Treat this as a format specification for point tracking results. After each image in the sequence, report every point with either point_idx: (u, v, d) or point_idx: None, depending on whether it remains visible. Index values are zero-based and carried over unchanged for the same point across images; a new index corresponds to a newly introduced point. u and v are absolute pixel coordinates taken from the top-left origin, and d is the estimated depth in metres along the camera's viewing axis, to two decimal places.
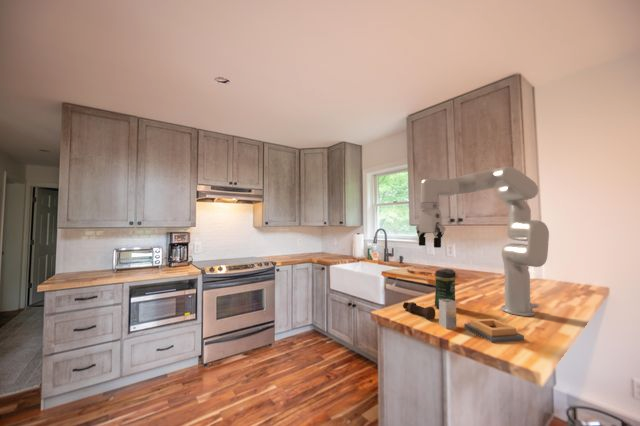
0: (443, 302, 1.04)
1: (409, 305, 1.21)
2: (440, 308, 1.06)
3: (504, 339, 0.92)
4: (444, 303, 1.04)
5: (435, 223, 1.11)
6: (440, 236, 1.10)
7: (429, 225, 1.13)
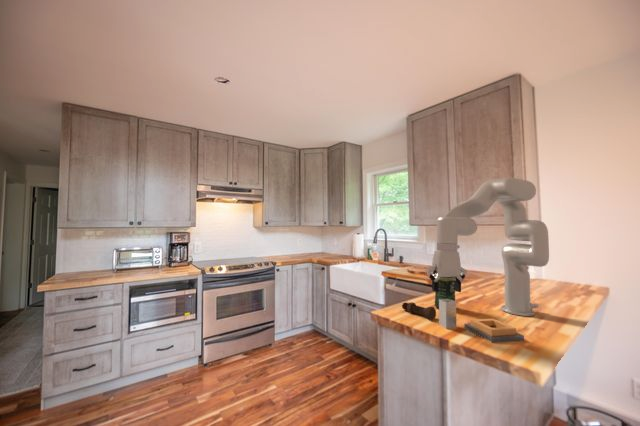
0: (443, 302, 1.04)
1: (409, 305, 1.20)
2: (440, 308, 1.06)
3: (504, 339, 0.92)
4: (444, 303, 1.04)
5: None
6: None
7: (456, 269, 1.04)
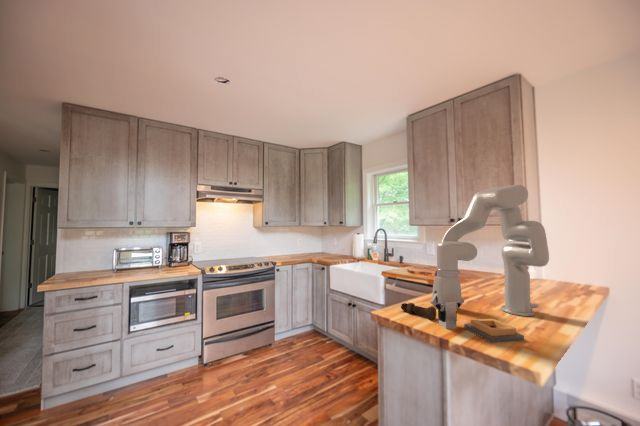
0: None
1: (409, 306, 1.19)
2: None
3: (504, 339, 0.92)
4: None
5: None
6: None
7: (457, 295, 1.04)
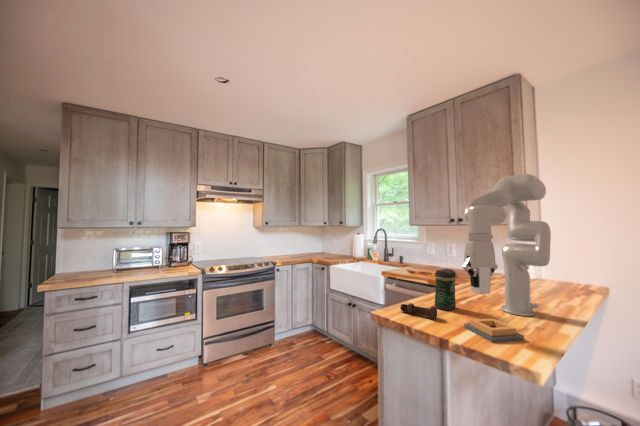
0: None
1: (409, 307, 1.18)
2: None
3: (504, 339, 0.92)
4: None
5: None
6: None
7: (491, 259, 0.99)
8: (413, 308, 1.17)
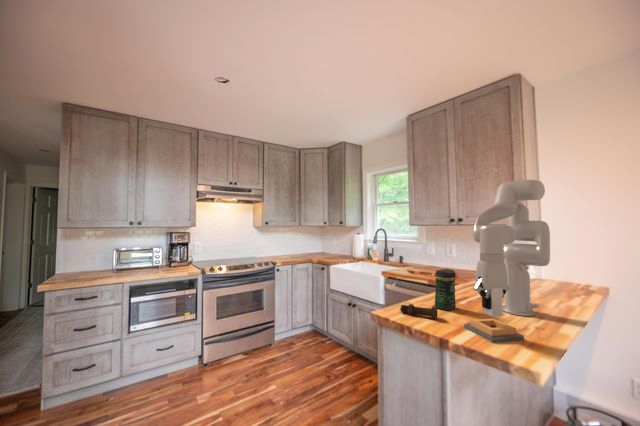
0: None
1: (410, 308, 1.17)
2: None
3: (504, 339, 0.92)
4: None
5: None
6: None
7: (503, 281, 0.97)
8: (414, 309, 1.17)
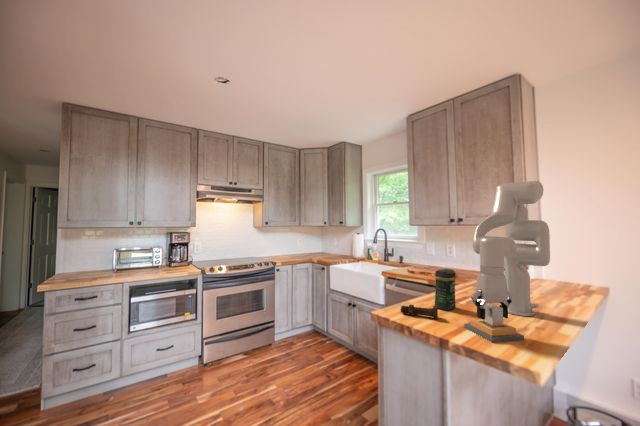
0: (488, 308, 0.98)
1: (411, 308, 1.16)
2: None
3: (504, 339, 0.92)
4: (490, 309, 0.97)
5: None
6: None
7: (503, 294, 0.97)
8: (414, 309, 1.16)
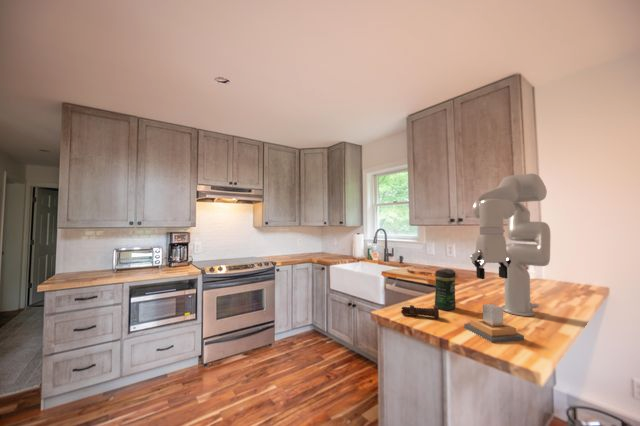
0: (488, 308, 0.98)
1: (412, 309, 1.15)
2: (484, 314, 0.99)
3: (504, 339, 0.92)
4: (490, 309, 0.97)
5: None
6: None
7: (503, 254, 0.98)
8: (416, 310, 1.15)
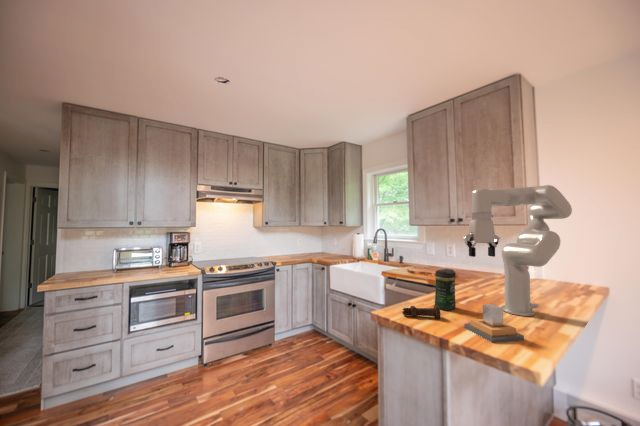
0: (488, 308, 0.98)
1: (414, 310, 1.14)
2: (484, 314, 0.99)
3: (504, 339, 0.92)
4: (490, 309, 0.97)
5: None
6: None
7: (491, 235, 1.15)
8: (417, 310, 1.14)
